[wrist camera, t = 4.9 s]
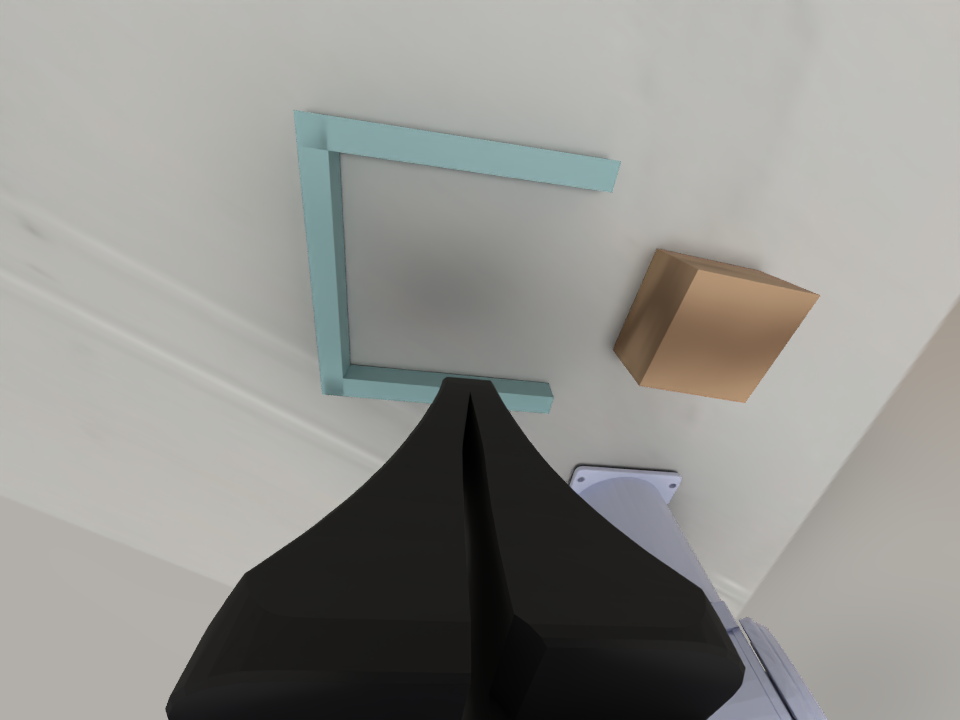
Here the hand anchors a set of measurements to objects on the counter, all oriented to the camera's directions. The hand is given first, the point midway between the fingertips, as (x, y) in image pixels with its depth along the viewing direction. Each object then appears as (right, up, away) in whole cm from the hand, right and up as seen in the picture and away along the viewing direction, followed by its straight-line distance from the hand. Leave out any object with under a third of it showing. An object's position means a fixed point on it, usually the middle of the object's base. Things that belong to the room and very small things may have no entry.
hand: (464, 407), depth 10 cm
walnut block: (+12, +4, +10) cm, 16 cm away
